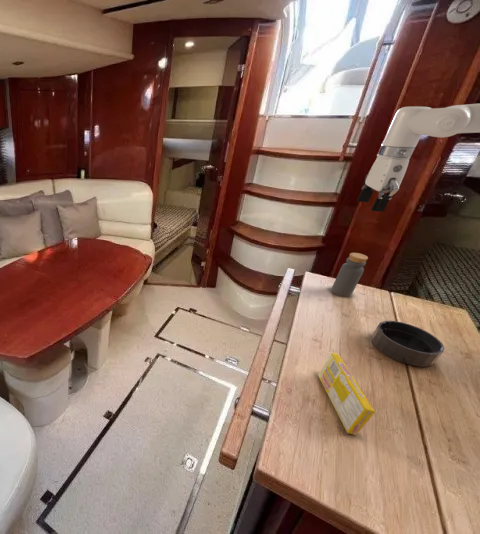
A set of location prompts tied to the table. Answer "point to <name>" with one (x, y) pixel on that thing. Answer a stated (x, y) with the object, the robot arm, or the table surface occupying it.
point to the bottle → (349, 275)
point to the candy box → (345, 394)
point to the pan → (407, 343)
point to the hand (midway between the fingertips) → (369, 206)
